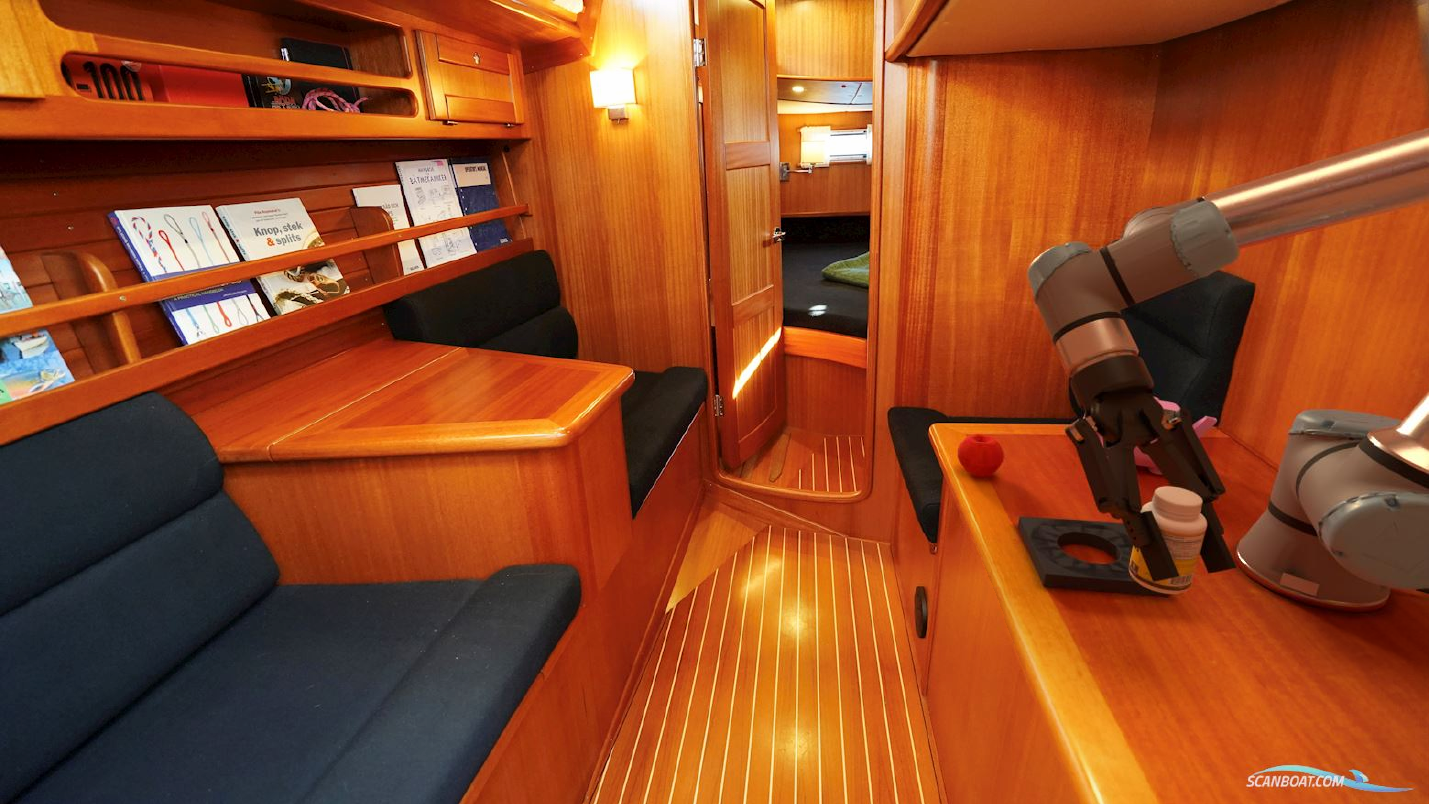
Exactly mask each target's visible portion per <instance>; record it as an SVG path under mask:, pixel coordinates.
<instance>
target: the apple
mask: <svg viewBox="0 0 1429 804" xmlns="http://www.w3.org/2000/svg"><path fill="white" fill-rule="evenodd" d="M957 459H958V461H959V464H960V465H961V466H962V468H964V470H965V471H966V472H967V473H968V474H969V475H971V476H973V477H977V478H988V477H990V476H992V475H993V474H994V473H995V472H996V471H998V469H999V468H1000V467H1001V466H1002V464H1003V462H1004V459H1005V452H1004V450H1003V448H1002V446H1001V443H1000V442H999V441H998V440H997V439H995V438H993V437H991V436H989V435H985V434H981V433H977V434H972V435H969V436H967V437H965V438H964V439H963V440H962V441H961V442H960V444H959V445H958V448H957Z"/></svg>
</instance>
